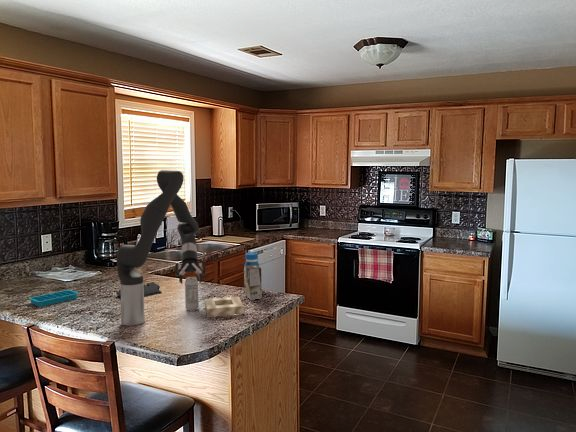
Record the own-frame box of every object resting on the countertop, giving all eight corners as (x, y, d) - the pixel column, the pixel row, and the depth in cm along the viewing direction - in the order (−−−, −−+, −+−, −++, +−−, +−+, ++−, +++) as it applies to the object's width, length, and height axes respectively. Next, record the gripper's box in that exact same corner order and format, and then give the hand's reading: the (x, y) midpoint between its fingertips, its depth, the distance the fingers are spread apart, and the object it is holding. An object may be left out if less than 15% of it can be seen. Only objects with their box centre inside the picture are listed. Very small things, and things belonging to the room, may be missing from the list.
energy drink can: (199, 307, 212) (199, 276, 211) (197, 311, 206) (196, 279, 205) (186, 307, 212) (186, 276, 211) (184, 311, 206) (183, 279, 205)
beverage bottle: (257, 292, 239) (257, 255, 237) (242, 291, 241) (241, 254, 239) (261, 288, 248) (261, 252, 246) (246, 287, 249) (246, 251, 247)
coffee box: (262, 299, 225) (261, 268, 224) (249, 300, 223) (249, 269, 221) (256, 294, 234) (256, 264, 232) (245, 296, 232) (244, 265, 230)
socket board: (207, 317, 197) (207, 308, 197) (204, 307, 213) (204, 299, 212) (243, 314, 201) (243, 306, 201) (238, 304, 217) (238, 296, 216)
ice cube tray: (80, 298, 229) (79, 292, 229) (38, 308, 213) (38, 302, 213) (68, 295, 236) (68, 289, 236) (28, 304, 220) (27, 298, 220)
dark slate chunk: (112, 296, 234) (111, 287, 234) (150, 288, 250) (150, 279, 250) (126, 301, 224) (125, 292, 223) (165, 293, 239) (165, 284, 239)
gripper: (174, 250, 217) (175, 279, 207) (204, 249, 221) (206, 277, 211) (174, 259, 223) (175, 287, 213) (203, 257, 227) (206, 285, 217)
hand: (191, 282), depth 212 cm, fingers open, 8 cm apart
